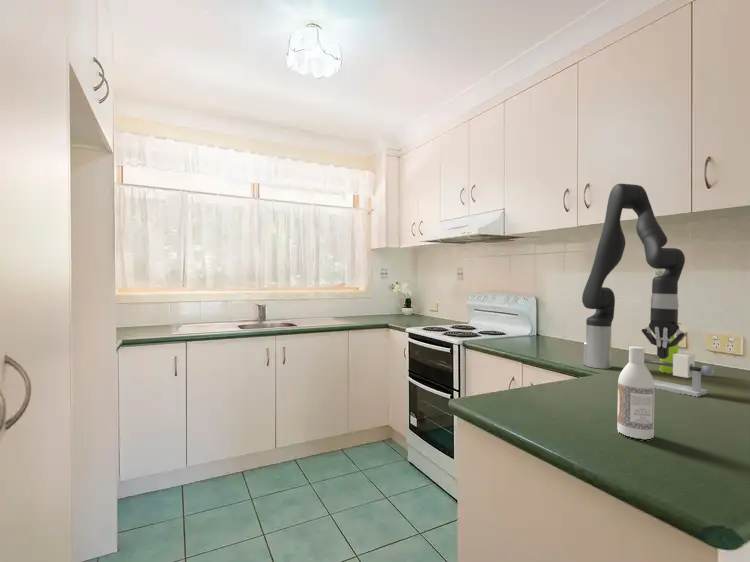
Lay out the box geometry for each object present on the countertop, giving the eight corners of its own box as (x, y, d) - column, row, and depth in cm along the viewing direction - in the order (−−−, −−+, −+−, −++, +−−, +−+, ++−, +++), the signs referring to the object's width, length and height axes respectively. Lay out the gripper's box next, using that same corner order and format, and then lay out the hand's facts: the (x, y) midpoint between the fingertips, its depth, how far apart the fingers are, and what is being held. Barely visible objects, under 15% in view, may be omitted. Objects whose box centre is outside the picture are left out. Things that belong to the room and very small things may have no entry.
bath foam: (619, 427, 96) (621, 343, 96) (655, 435, 91) (656, 347, 91) (614, 435, 90) (616, 347, 90) (651, 444, 86) (653, 350, 86)
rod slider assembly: (627, 382, 140) (627, 355, 140) (638, 380, 145) (638, 353, 145) (706, 399, 122) (707, 367, 122) (716, 395, 126) (716, 365, 126)
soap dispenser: (683, 374, 156) (684, 323, 156) (663, 373, 157) (664, 322, 157) (675, 371, 162) (676, 321, 162) (656, 369, 163) (657, 320, 163)
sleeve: (672, 375, 130) (673, 354, 130) (679, 373, 133) (680, 352, 133) (687, 377, 127) (687, 356, 127) (694, 375, 130) (694, 354, 130)
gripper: (637, 306, 138) (636, 356, 138) (683, 308, 127) (681, 363, 127) (647, 305, 143) (645, 354, 143) (692, 308, 132) (690, 360, 132)
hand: (662, 358), depth 135 cm, fingers closed
